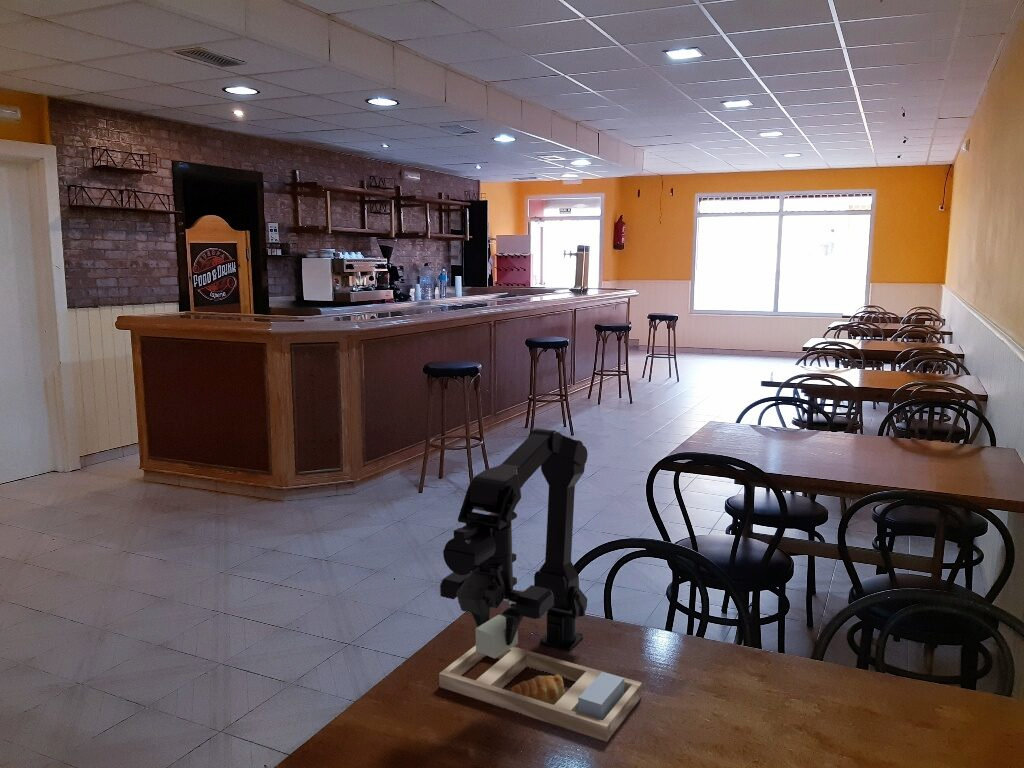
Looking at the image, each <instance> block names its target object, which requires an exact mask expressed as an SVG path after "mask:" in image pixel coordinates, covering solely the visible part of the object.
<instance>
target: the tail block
mask: <svg viewBox="0 0 1024 768" xmlns="http://www.w3.org/2000/svg"><path fill="white" fill-rule="evenodd" d="M474 629H475V645H476V651H477V652H479V653H482V654H484V655H486V657H487V656H488V657H490V658H492V659H497V657H498V656H500V655H501V654H503V653H504V652H506V651H507V650H509V649H510V648H512V647H516V646H517V645H518V644H519V637H518V634H519V633H518V632H519V631H518V630H519V628H518V629H517V632H516V634H515V637H514V639H513V642H512V644H511V645H509V646H508V645H507V642H506V618H505V617H504V616H503V615H501V614H498V615H495V616H494V617H492V618H491V619H489V621H487V622H485V623H484V624H482V625H480V626H479V627H477V626H476V628H474Z"/></svg>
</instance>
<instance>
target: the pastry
mask: <svg viewBox="0 0 1024 768" xmlns="http://www.w3.org/2000/svg"><path fill="white" fill-rule="evenodd" d="M563 679H564V678H562V677H561V676H560V675H558V674H556V675H536V676H534V677H533V678H531V679H527V680H523V681H521V682H519V683H517V684H515V685H513V686H512V687H511V688H510V691H511V692H514V693H517V694H520V695H523V696H527V697H530V698H533V699H536V700H539V701H542V702H546V703H549V704H552V705H555V703H556V702H557V701H558V700H559V699H560V698H561V697H562V696H563V695H564V694H565V693H566V689H565V686H564V680H563Z"/></svg>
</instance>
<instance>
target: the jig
mask: <svg viewBox="0 0 1024 768" xmlns="http://www.w3.org/2000/svg"><path fill="white" fill-rule="evenodd" d="M483 657H484V658H485V657H487V655H484V654H482V653H479V652H477V651H476V644H475V645H474V646H472V648H470V649H469V650H467V651H466V652H465V653H463V655H461V656H460V657H458V658H457V659H456V660H454V661H453V662H452V663H450V664H449V665H448V666H447V667H445V668H444V669H443V670H442V671H440V672H439V673H438V676H439V677H438V681H439V683H438V685H439V688H441V689H445V690H448V691H451V692H454V693H457V694H460V695H462V696H466V697H469V698H471V699H472V698H473V699H475V700H478V701H481V702H484V703H487V704H490V705H494V706H496V707H500V708H502V709H505V708H506V710H509V711H512V712H515V713H517V712H518V713H517V714H520V713H521V715H524V716H527V717H531V718H532V719H536V720H538V721H542V722H546V723H549V724H552V725H554V726H557V727H561V728H564V729H567V730H569V731H572V732H576V733H579V734H582V735H585V736H588V737H590V738H594V739H597V740H600V741H602V742H603V741H604V742H606V743H607V742H608V741H609V739H611V737H612V736H613V735H614V733H615V732H616V730H617V729H618V728H619V727H620V726H621V724H622V723H623V722H624V720H625V719H626V718H627V716H628V715H629V714H630V712H631V711H632V710H633V708H634V707H635V706H636V704H637V703H639V701H640V699H642V697H643V682H640V681H638V680H634V679H631V678H627V677H623V676H620V675H618V676H619V677H622V678H624V695H623V696H622V698H621V699H620V700H619V701H618V703H617V704H616V705H615V706H614V707H613V709H612V710H611V711H610V712H609V714H608V715H607V716H606V717H605V718H604V720H600V719H597V718H593V717H590V716H587V715H584V714H581V713H578V697H579V696H580V695H581V694H582V693H583V692H584V691H585V690H586V689H587V688H588V686H589V685H590V684H591V683H592V682H593V681H594V680H595V679H596V678H597V677H598V676H599V675H600V674H601V673H602V672H603V671H601V670H598V669H595V668H591V667H588V666H584V665H580V664H576V663H572V662H570V661H567V660H562V659H559V658H555V657H552V656H549V655H546V654H545V655H544V654H542V653H539V652H538V653H537V652H533V651H530V650H527V649H523V648H519V647H517V646H513V647H512V648H510V649H509V650H507V651H506V652H504V653H503V654H501V655H500V656H498V657H497V658H498V659H497V658H496V659H497V660H498V661H496V663H494V664H493V665H491V666H490V667H489V668H488V669H487V670H486V671H484V673H483V674H481V675H480V676H479V677H478V678H477V679H476V680H474V679H472V678H468V677H466V676H463V675H464V674H465V673H467V672H468V671H469V670H470V669H471V668H473V667H474V666H475V665H476V664H478V663H479V662H480V661H481V660H483V659H484V658H483ZM482 658H483V659H482ZM528 667H529V669H532V668H533V669H532V670H535V669H536V671H539V670H540V671H539V672H542V671H544V672H543V673H545V672H548V673H547V674H549V673H551V674H550V675H552V674H554V675H553V676H555V675H556V674H558V675H560V676H561V677H564V678H563V679H566V678H567V680H570V681H573V682H575V683H573V684H572V685H571V687H569V689H568V690H566V691H565V694H564V695H563V696H562V697H561V698H560V699H559V700H558V701H557V702H556V703H555V705H552V704H549V703H546V702H542V701H539V700H536V699H533V698H530V697H527V696H523V695H520V694H517V693H514V692H511V690H507V689H505V687H506V686H507V685H508V684H509V683H510V682H511V681H513V679H514V678H515V676H516V677H517V676H518V675H519V674H520V673H521V672H522V671H524V669H526V668H528ZM604 672H605V671H604ZM605 673H608V674H610V673H609V672H605ZM611 674H612V673H611ZM612 675H615V676H617V675H616V674H612ZM507 683H508V684H507ZM505 685H506V686H505Z"/></svg>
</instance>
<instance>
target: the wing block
mask: <svg viewBox="0 0 1024 768" xmlns="http://www.w3.org/2000/svg"><path fill="white" fill-rule="evenodd" d="M608 673H609V672H606V673H605V671H602V673H601V674H600V675H599V676H598V677H597V678H596V679H595V680H594V681H593V682H592V683H591V684H590V685H589V686H588V688H587V689H586V690H585V691H584V692H583V693H582V694H581V695H580V696H579V697H578V713H581V714H584V715H587V716H590V717H593V718H597V719H600V720H604V718H605V717H606V716H607V715H608V714H609V712H610V711H611V710H612V709H613V707H614V706H615V705H616V704H617V703H618V701H619V700H620V699H621V698H622V696H623V695H624V678H625V677H624V678H622V677H623V676H620V675H616V674H613V675H612V673H609V674H608ZM615 675H616V676H615ZM619 676H620V677H619Z"/></svg>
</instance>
